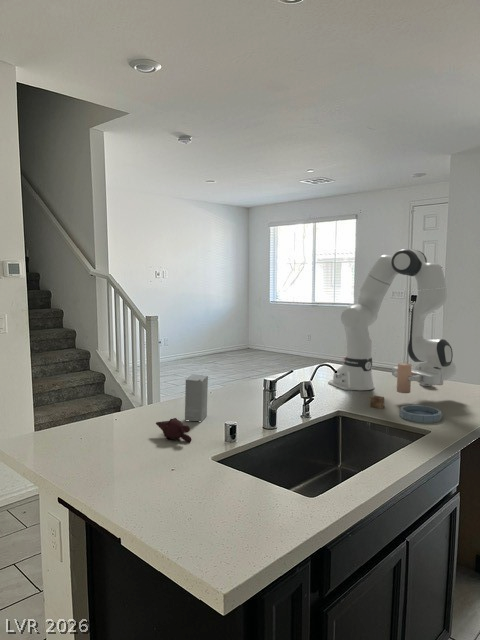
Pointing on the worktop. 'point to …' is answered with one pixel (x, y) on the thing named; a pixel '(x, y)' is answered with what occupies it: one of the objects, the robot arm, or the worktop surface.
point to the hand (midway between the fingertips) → (402, 377)
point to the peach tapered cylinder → (403, 378)
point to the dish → (420, 413)
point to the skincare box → (196, 397)
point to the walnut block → (377, 402)
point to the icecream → (174, 429)
